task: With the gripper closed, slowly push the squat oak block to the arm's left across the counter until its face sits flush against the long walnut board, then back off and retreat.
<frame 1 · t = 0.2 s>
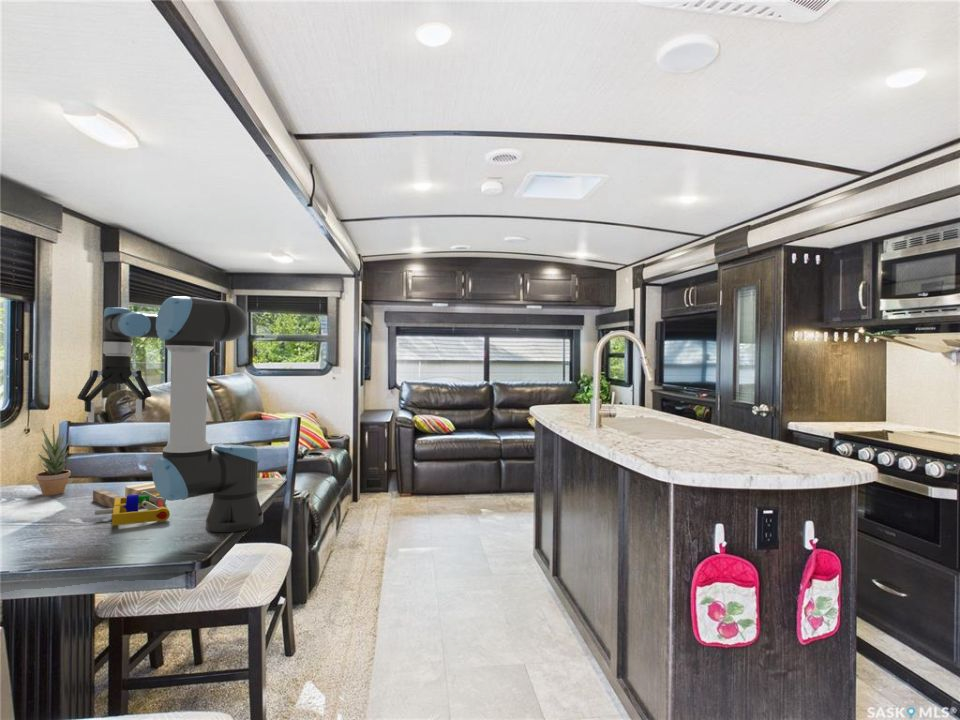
hand: (115, 420, 169), 28 cm above the table, fingers open, 13 cm apart
mechanical clamp: (132, 514, 159), on the table, touching board
block: (145, 497, 181), on the table
potted plant: (53, 494, 183), on the table
board: (108, 504, 170), on the table
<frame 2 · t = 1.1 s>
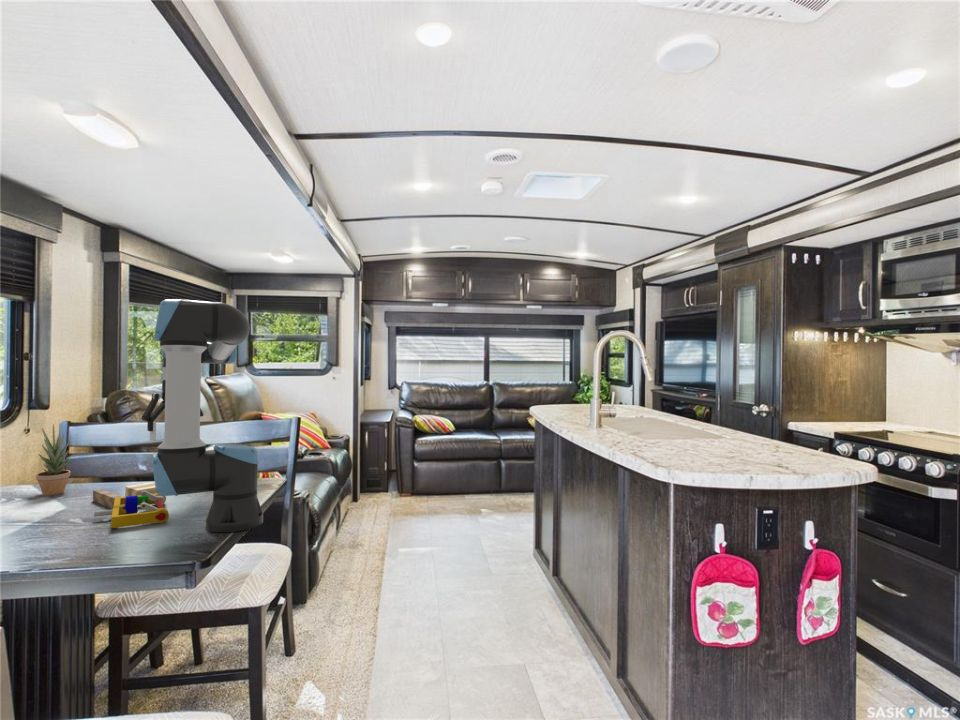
hand: (173, 438, 187), 20 cm above the table, fingers open, 13 cm apart
mechanical clamp: (131, 515, 159), on the table, touching board
everything else where it was.
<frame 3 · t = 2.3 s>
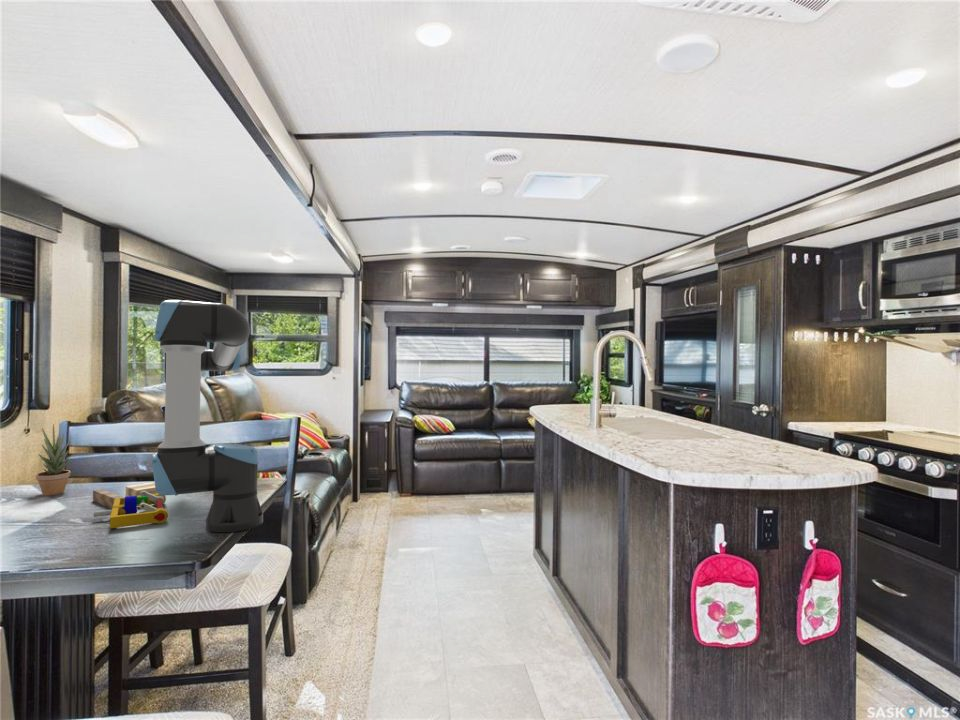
hand: (178, 451, 188), 15 cm above the table, fingers closed
nothing on the table moved.
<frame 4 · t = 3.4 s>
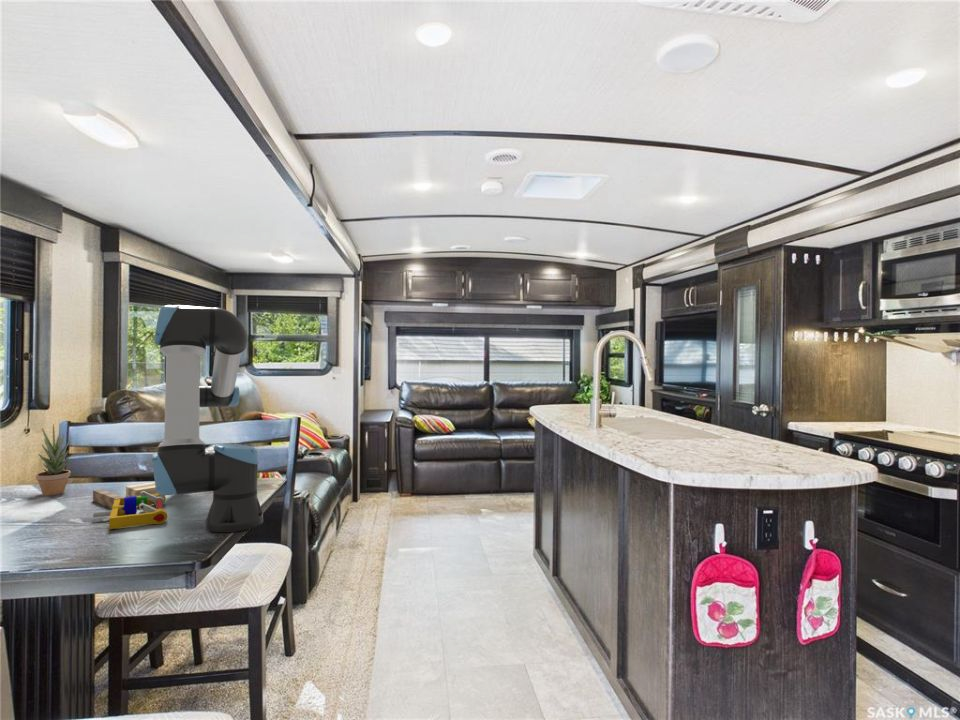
hand: (177, 487, 188), 2 cm above the table, fingers closed
mechanical clamp: (131, 516, 159), on the table, touching board
everything else where it was.
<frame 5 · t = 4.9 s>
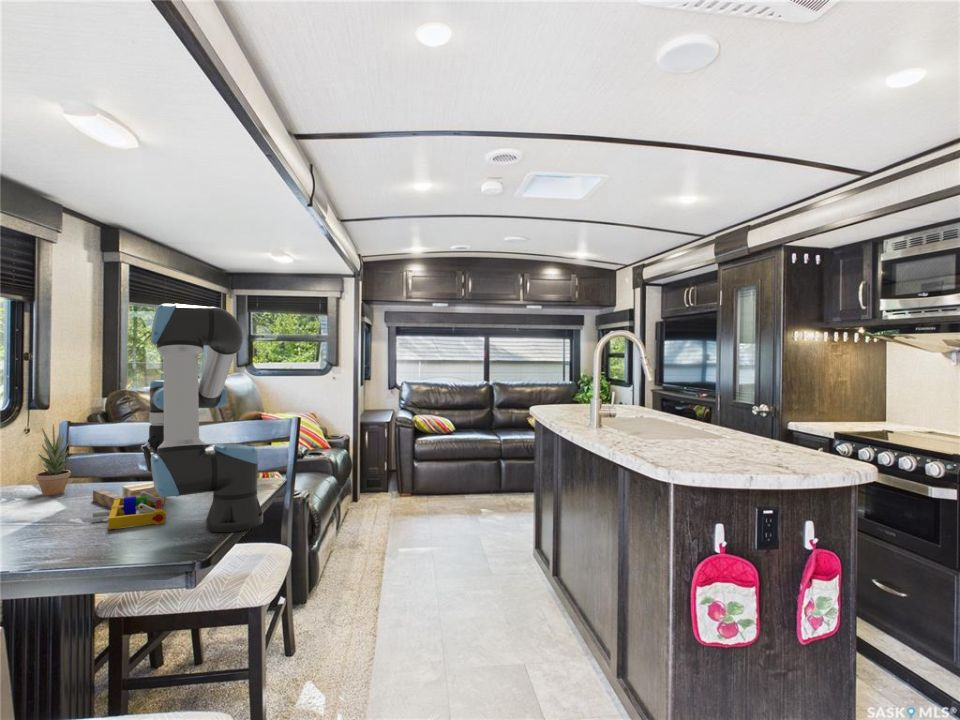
hand: (160, 490, 183), 1 cm above the table, fingers closed
block: (141, 497, 180), on the table
everything else where it was.
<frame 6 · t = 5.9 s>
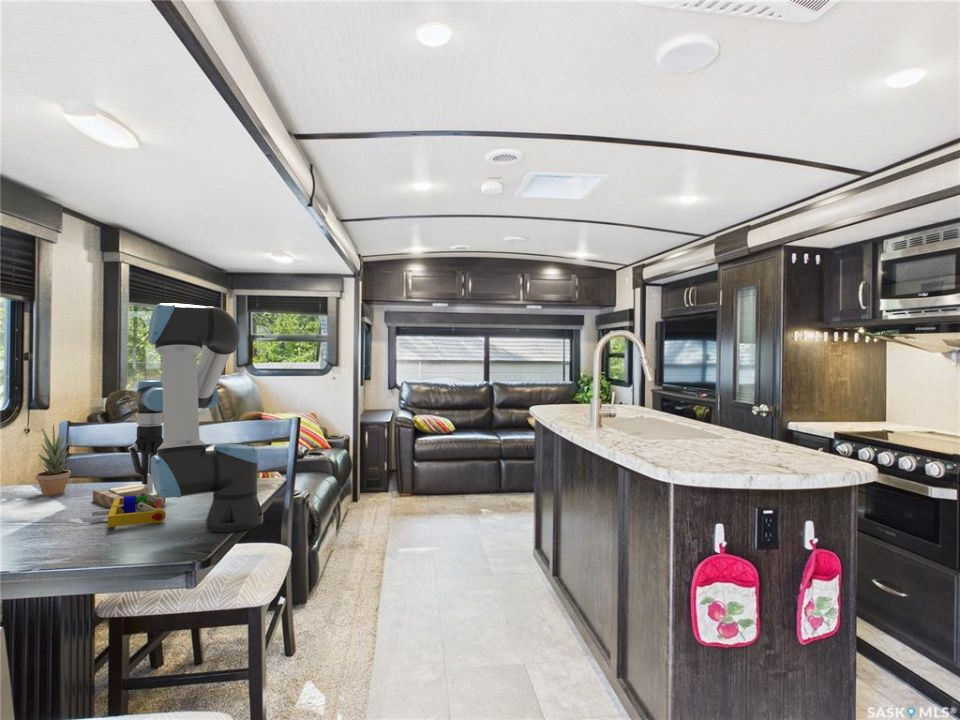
hand: (148, 493, 180), 1 cm above the table, fingers closed
block: (128, 500, 177), on the table, touching gripper
everything else where it was.
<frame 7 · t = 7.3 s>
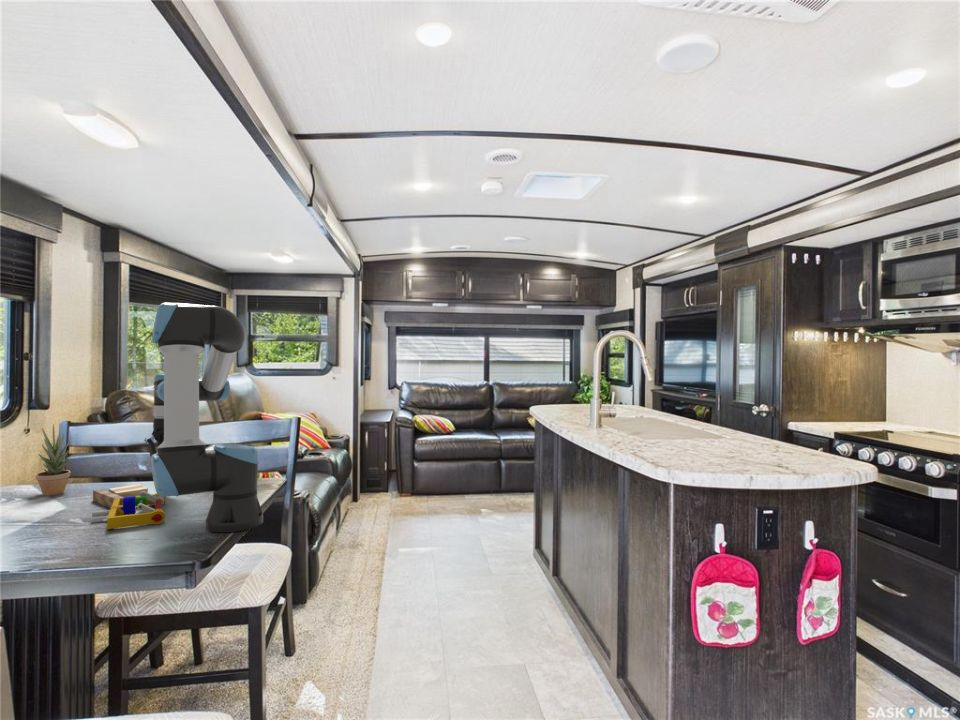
hand: (164, 484, 184), 4 cm above the table, fingers closed
mechanical clamp: (130, 516, 158), on the table, touching board
block: (128, 500, 177), on the table
everything else where it was.
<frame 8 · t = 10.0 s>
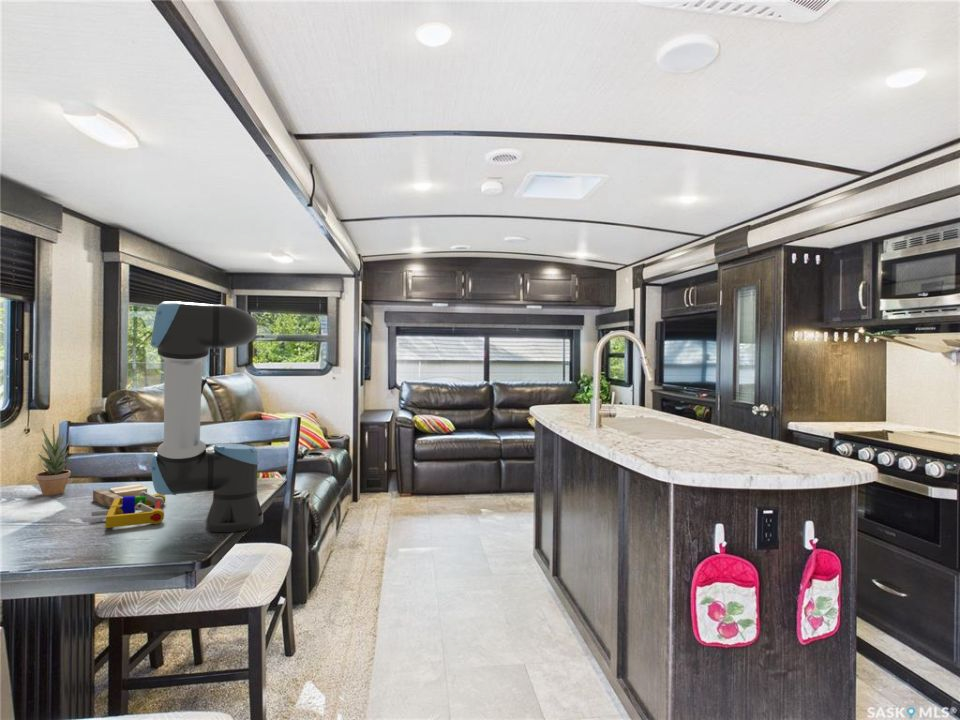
hand: (185, 428, 176), 24 cm above the table, fingers closed
mechanical clamp: (129, 516, 158), on the table, touching board
everything else where it was.
at the end: block inside the target area on the table beside the board (2.3 cm from its centre), on the table; block tilted 0°; block moved 5.1 cm from its start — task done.
